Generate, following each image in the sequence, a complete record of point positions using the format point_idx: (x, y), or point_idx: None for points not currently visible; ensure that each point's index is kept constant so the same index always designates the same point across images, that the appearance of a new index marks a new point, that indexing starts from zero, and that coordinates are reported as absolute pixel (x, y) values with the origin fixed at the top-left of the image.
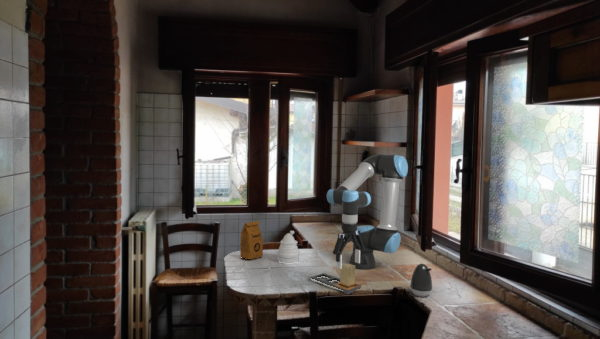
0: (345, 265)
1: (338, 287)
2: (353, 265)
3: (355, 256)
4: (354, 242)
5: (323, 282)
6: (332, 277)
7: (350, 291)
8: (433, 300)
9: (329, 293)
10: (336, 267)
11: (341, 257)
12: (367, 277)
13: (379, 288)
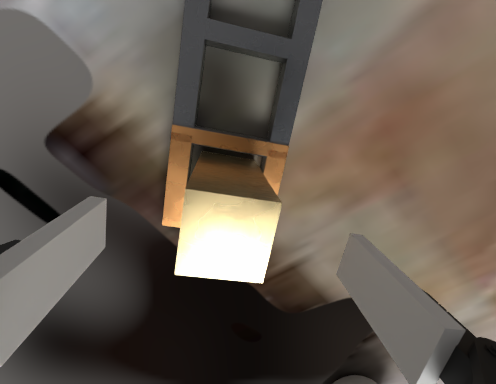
0: (207, 226)
1: (169, 163)
2: (255, 272)
3: (377, 270)
4: None
5: (182, 36)
6: (288, 39)
7: None
8: None
9: (106, 145)
10: (89, 198)
11: (18, 334)
12: (442, 166)
13: (327, 274)
